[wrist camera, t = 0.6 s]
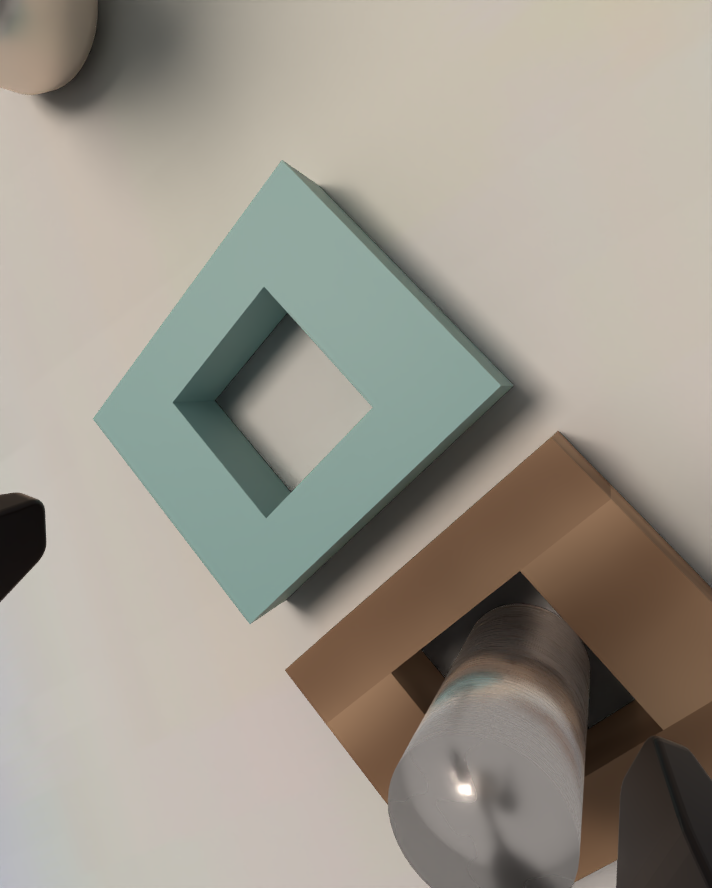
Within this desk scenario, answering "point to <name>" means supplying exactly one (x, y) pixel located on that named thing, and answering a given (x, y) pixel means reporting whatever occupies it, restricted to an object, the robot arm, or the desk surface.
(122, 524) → the desk surface
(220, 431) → the block
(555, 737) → the steel peg
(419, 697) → the socket block
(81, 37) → the plastic bottle
